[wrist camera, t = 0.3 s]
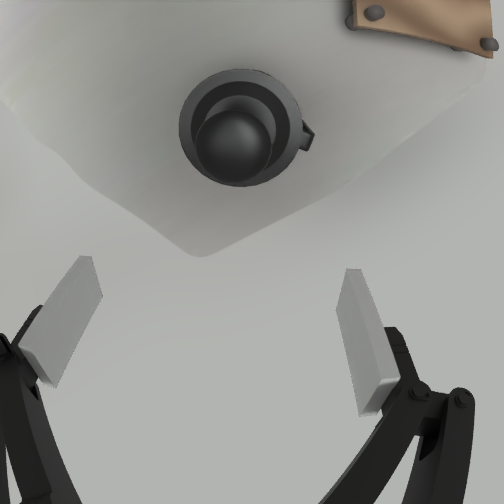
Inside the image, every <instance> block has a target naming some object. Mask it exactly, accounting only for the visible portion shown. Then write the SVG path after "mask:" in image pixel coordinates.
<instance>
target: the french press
mask: <svg viewBox="0 0 504 504" xmlns="http://www.w3.org/2000/svg"><path fill="white" fill-rule="evenodd" d="M314 136H315V134H314V133H313V131H312V130H311V129H310V128H309V127H308V126H307V124H306V123H305V122H304V121H303V120H302V117H301V113H300V110H299V107H298V104H297V103H296V101H295V99H294V98H293V96H292V94H291V93H290V92H289V91H288V90H287V89H286V88H285V87H284V85H283V84H281V83H280V82H278V81H277V80H276V79H274V78H273V77H271V76H270V75H268V74H266V73H264V72H261V71H257V70H249V69H232V70H227V71H222V72H220V73H217V74H214V75H212V76H210V77H208V78H207V79H205V80H204V81H202V82H201V83H200V84H199V85H198V86H197V87H196V88H195V89H194V90H193V91H192V92H191V93H190V95H189V96H188V98H187V99H186V101H185V103H184V105H183V108H182V110H181V113H180V119H179V137H180V141H181V146H182V148H183V150H184V152H185V155H186V157H187V158H188V159H189V161H190V162H191V164H192V165H193V166H194V167H195V168H196V169H197V170H198V171H199V172H200V173H201V174H203V175H204V176H206V177H208V178H209V179H211V180H213V181H215V182H218V183H220V184H224V185H228V186H234V187H247V186H254V185H258V184H261V183H264V182H267V181H269V180H271V179H272V178H274V177H276V176H278V175H279V174H280V173H281V172H282V171H284V170H285V169H286V168H287V167H288V165H289V164H290V163H291V162H292V160H293V159H294V157H295V155H296V153H297V152H298V150H299V149H301V150H304V151H308V150H309V148H310V146H311V143H312V141H313V138H314Z"/></svg>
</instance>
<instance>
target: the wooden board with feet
mask: <svg viewBox="0 0 504 504" xmlns="http://www.w3.org/2000/svg"><path fill="white" fill-rule="evenodd" d="M352 3H353V14H352V15H350V16H349V17H347V18H346V20H345V24H346V26H347V27H348V28H349V29H350V30H358V29H360V28H364V29H371V30H378V31H384V32H390V33H395V34H401V35H406V36H410V37H415V38H419V39H424V40H428V41H432V42H436V43H440V44H443V45H447V46H450V47H451V48H452V49H453V50H454V51H467V52H470V53H473V54H476V55H479V56H482V57H485V58H491V59H492V58H493V51H497V50H498V49H499V45H498V42H497V40H496V39H494V38H493V33H492V17H491V6H490V0H352Z"/></svg>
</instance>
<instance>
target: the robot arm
mask: <svg viewBox="0 0 504 504" xmlns="http://www.w3.org/2000/svg"><path fill="white" fill-rule="evenodd" d="M102 297H103V295H102V292H101V288H100V285H99V282H98V278H97V275H96V271H95V267H94V264H93V260H92V257H91V256H79V258H78V259H77V260H76V261H75V263H74V264H73V266H72V267H71V268H70V269H69V271H68V272H67V273H66V275H65V276H64V277H63V279H62V280H61V281H60V283H59V284H58V286H57V287H56V288H55V290H54V291H53V293H52V294H51V295H50V297H49V298H48V300H47V301H46V302H45V304H44V305H39V306H38V307H37V308H35V309H34V310H33V311H32V312H31V314H30V315H29V317H28V318H27V320H26V321H25V322H24V324H23V326H22V327H21V329H20V330H19V332H18V333H17V335H16V336H15V338H14V339H13V341H12V343H11V344H10V342H9V341H8V339H7V337H6V336H5V335H4V334H3V333H0V504H10V498H9V488H8V478H7V465H6V447H7V451H8V455H9V459H10V462H11V466H12V469H13V473H14V476H15V479H16V482H17V485H18V488H19V491H20V494H21V497H22V502H21V503H20V504H82V502H81V500H80V498H79V496H78V494H77V492H76V490H75V488H74V486H73V484H72V481H71V479H70V477H69V474H68V472H67V470H66V468H65V465H64V463H63V460H62V458H61V455H60V453H59V450H58V447H57V445H56V442H55V439H54V436H53V434H52V431H51V428H50V425H49V422H48V419H47V416H46V412H45V409H44V406H43V402H42V399H41V395H40V391H39V388H38V386H37V384H36V381H37V379H38V377H39V379H40V380H41V382H42V383H43V385H46V386H50V387H53V388H57V385H58V383H59V381H60V379H61V377H62V375H63V373H64V370H65V368H66V366H67V364H68V362H69V360H70V358H71V356H72V354H73V352H74V350H75V348H76V346H77V344H78V342H79V340H80V338H81V336H82V334H83V332H84V330H85V328H86V327H87V325H88V323H89V321H90V319H91V317H92V315H93V313H94V312H95V310H96V308H97V306H98V304H99V303H100V301H101V299H102ZM336 312H337V316H338V321H339V325H340V329H341V333H342V337H343V342H344V346H345V350H346V354H347V359H348V364H349V368H350V372H351V378H352V382H353V387H354V392H355V397H356V402H357V407H358V412H359V417H362V416H372V415H377V413H378V412H379V410H380V409H381V410H382V414H383V417H382V418H381V420H380V421H379V422H378V424H377V425H376V426H375V427H376V428H375V429H374V431H373V432H372V434H371V435H370V437H369V438H368V440H367V441H366V443H365V444H364V445H363V447H362V448H361V450H360V451H359V453H358V454H357V455H356V457H355V458H354V459H353V461H352V462H351V464H350V465H349V466H348V468H347V469H346V470H345V472H344V473H343V474H342V475H341V477H340V478H339V479H338V481H337V482H336V483H335V484H334V486H333V487H332V488H331V489H330V491H329V492H328V493H327V494H326V495H325V497H324V498H323V499H322V500H321V501H320V502H319V504H373V503H374V502H375V501H376V499H377V498H378V496H379V495H380V493H381V492H382V490H383V489H384V487H385V486H386V484H387V482H388V481H389V479H390V478H391V476H392V474H393V473H394V471H395V469H396V468H397V466H398V464H399V462H400V461H401V459H402V457H403V456H404V454H405V452H406V450H407V448H408V447H409V445H410V443H411V441H412V439H413V437H414V435H417V436H420V438H419V442H418V447H417V451H416V455H415V460H414V463H413V467H412V471H411V475H410V478H409V481H408V485H407V489H406V492H405V495H404V498H403V501H402V504H463V499H464V494H465V489H466V484H467V478H468V472H469V465H470V458H471V450H472V440H473V430H474V415H475V400H474V397H473V395H472V393H470V392H469V391H468V390H467V389H465V388H459V387H458V388H455V389H453V390H452V391H451V392H450V394H445V393H439V392H434V391H431V389H430V388H429V386H428V385H427V384H425V383H424V382H422V381H420V380H419V377H418V375H417V372H416V369H415V367H414V364H413V361H412V358H411V356H410V353H409V351H408V348H407V346H406V343H405V340H404V338H403V335H402V334H401V333H400V332H399V331H398V330H397V328H396V327H383V325H382V322H381V319H380V316H379V314H378V311H377V309H376V306H375V303H374V301H373V298H372V296H371V293H370V291H369V288H368V286H367V283H366V281H365V278H364V276H363V273H362V271H361V269H346V272H345V277H344V281H343V285H342V289H341V293H340V297H339V300H338V305H337V308H336Z"/></svg>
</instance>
